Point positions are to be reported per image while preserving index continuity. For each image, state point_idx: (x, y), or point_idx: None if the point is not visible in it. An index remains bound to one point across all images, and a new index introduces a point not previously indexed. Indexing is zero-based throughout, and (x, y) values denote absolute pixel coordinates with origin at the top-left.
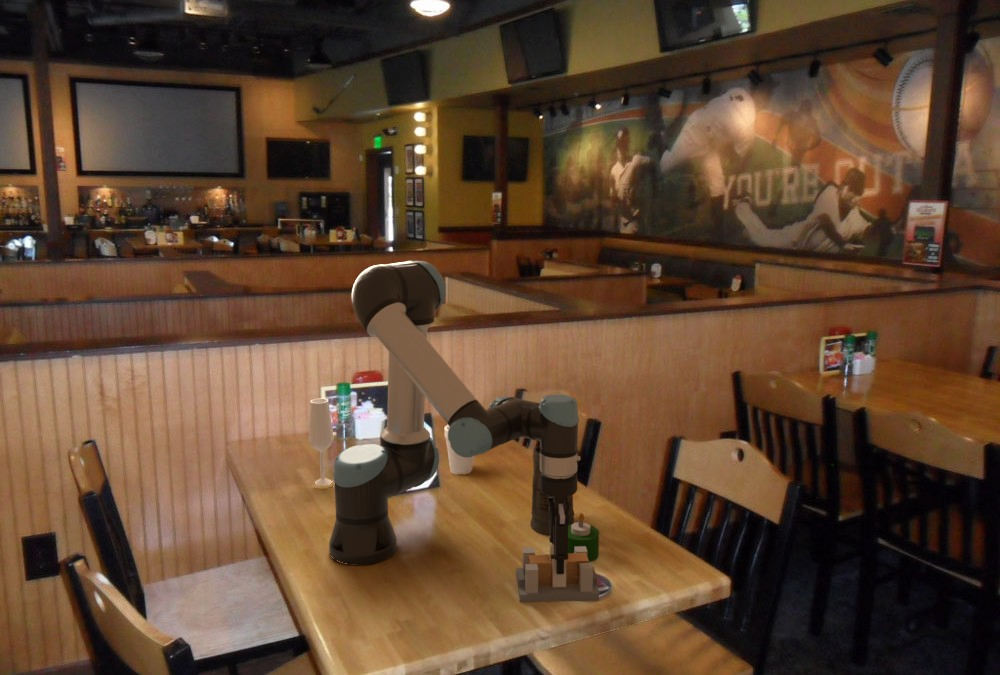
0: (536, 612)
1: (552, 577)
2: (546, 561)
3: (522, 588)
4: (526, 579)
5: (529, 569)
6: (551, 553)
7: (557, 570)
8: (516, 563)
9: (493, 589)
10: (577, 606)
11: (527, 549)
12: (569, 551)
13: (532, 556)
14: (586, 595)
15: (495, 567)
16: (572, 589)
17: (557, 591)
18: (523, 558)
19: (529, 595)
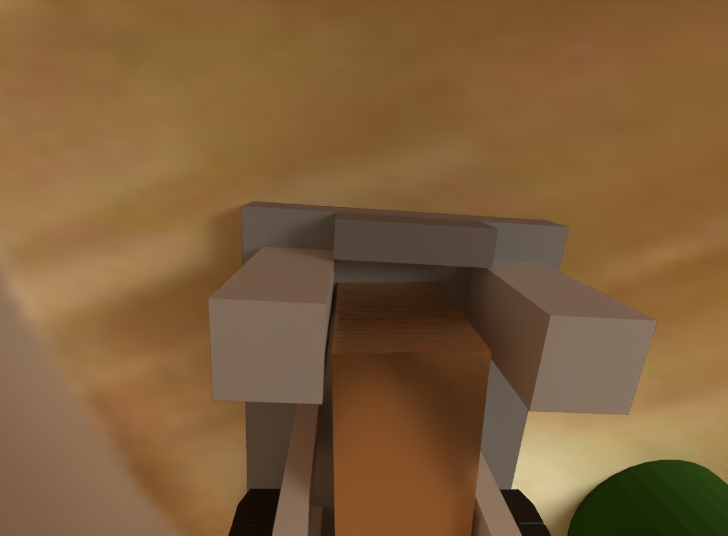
0: (150, 274)
1: (313, 431)
2: (359, 476)
3: (316, 232)
4: (237, 273)
5: (218, 329)
6: (482, 526)
7: (234, 521)
8: (661, 238)
9: (403, 59)
10: (208, 455)
11: (604, 358)
12: (641, 524)
13: (463, 383)
14: None
15: (655, 106)
16: None
17: (272, 409)
18: (523, 295)
19: (244, 262)
